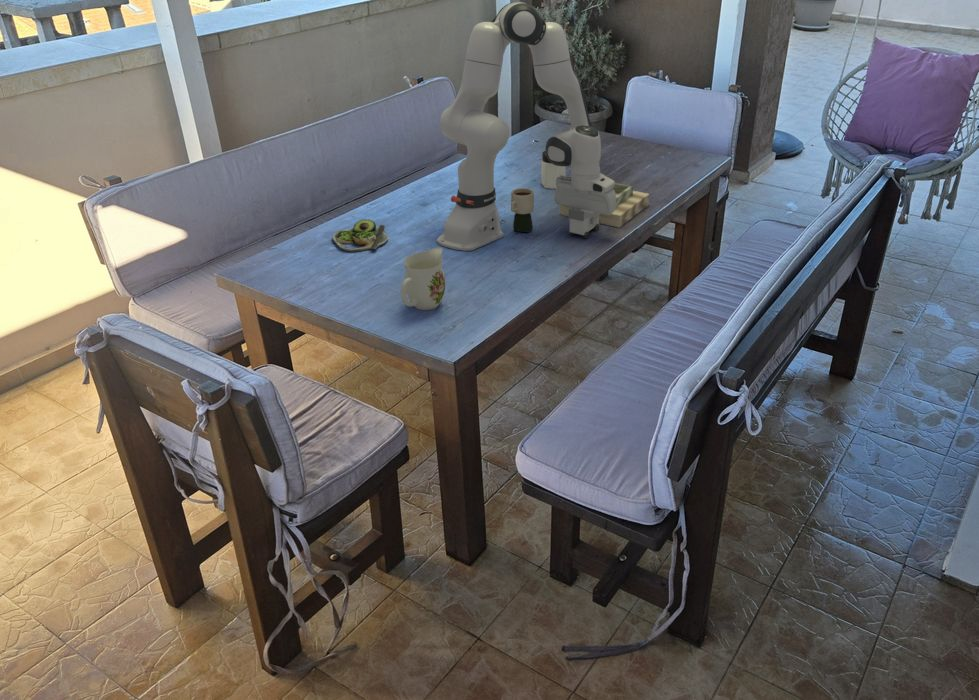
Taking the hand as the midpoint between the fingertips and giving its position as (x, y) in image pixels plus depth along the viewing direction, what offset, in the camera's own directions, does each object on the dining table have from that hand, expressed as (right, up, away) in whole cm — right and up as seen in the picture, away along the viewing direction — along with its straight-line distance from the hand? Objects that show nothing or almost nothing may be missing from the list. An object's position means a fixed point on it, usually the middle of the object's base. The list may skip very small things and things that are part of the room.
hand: (584, 221), depth 267 cm
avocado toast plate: (-71, -6, +3) cm, 71 cm away
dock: (+9, +7, +17) cm, 21 cm away
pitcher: (-48, -29, -36) cm, 67 cm away
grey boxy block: (0, -3, +2) cm, 4 cm away
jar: (-7, +19, +39) cm, 44 cm away
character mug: (-19, -2, +5) cm, 20 cm away
